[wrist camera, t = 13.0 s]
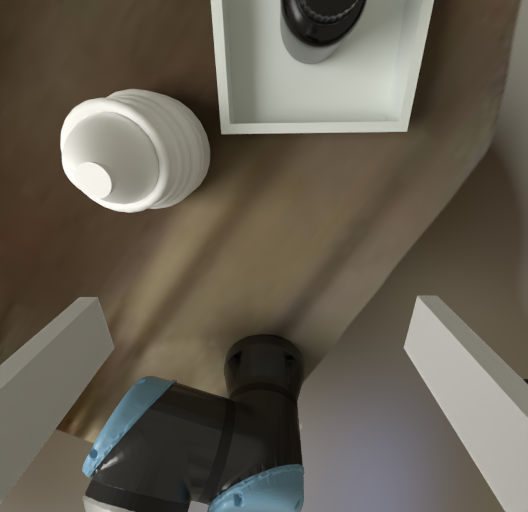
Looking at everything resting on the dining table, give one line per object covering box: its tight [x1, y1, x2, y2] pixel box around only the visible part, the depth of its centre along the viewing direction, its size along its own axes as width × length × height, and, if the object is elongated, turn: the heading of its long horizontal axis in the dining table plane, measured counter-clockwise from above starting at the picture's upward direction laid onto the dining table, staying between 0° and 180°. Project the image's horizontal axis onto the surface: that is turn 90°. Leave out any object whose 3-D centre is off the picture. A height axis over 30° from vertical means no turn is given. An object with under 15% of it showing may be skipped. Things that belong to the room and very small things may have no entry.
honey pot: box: [61, 89, 210, 213], centre depth 27 cm, size 13×13×18 cm
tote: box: [211, 0, 434, 134], centre depth 27 cm, size 20×20×5 cm
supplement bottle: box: [280, 0, 367, 64], centre depth 23 cm, size 7×7×12 cm
